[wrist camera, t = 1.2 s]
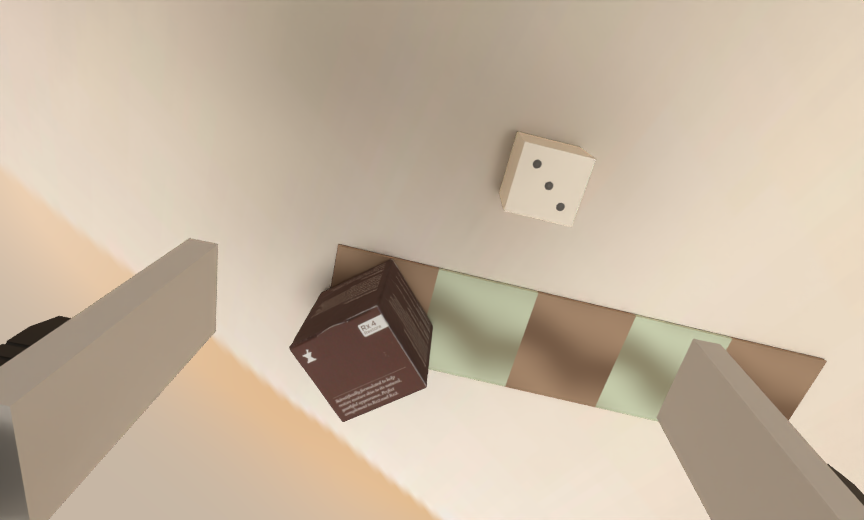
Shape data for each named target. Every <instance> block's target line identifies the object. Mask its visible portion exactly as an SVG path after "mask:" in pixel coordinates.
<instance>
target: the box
mask: <svg viewBox="0 0 864 520" xmlns="http://www.w3.org/2000/svg"><path fill="white" fill-rule="evenodd" d="M432 331H433V325H432V323H431V322H430V320H429V318H428V317H427V315H426V313H425V312H424V310H423V308H422V307H421V306H420V304H419V302H418V301H417V299H416V297H415V295H414V294H413V292H412V291H411V289H410V287H409V286H408V284H407V282H406V280H405V279H404V277H403V275H402V274H401V272H400V270H399V269H398V267H397V265H396V264H395V262H394V261H393V260H392V259H390V260H387V261H385V262H383V263H381V264H379V265H377V266H375V267H373V268H371V269H369V270H367V271H365V272H363V273H361V274H359V275H357V276H354V277H353V278H351V279H349V280H346V281H345V282H343V283H340V284H338V285H336V286H334V287H333V288H331V289H328V290H326V291H324V292H322V293H321V294H320V296H319V297H318V299H317V301H316V303H315V304H314V306H313V308H312V309H311V311H310V313H309V314H308V316H307V318H306V320H305V321H304V323H303V325H302V327H301V328H300V330H299V332H298V333H297V335H296V337H295V339H294V341H293V343H292V344H291V345H290V347H289V348H290V351H291V352H292V353H293V355H294V356H295V358H296V359H297V360H298V362H299V363H300V364H301V366H302V367H303V368H304V370H305V371H306V372H307V374H308V375H309V376H310V378H311V379H312V380H313V382H314V383H315V385H316V386H317V387H318V389H319V390H320V392H321V393H322V394H323V396H324V397H325V399H326V400H327V401H328V403H329V404H330V406H331V407H332V408H333V410H334V411H335V413H336V414H337V415H338V416H339V418H340V419H341V421H342V422H345V421H347V420H350V419H352V418H354V417H357V416H359V415H362V414H364V413H367V412H369V411H371V410H374V409H376V408H379V407H381V406H383V405H386V404H388V403H391V402H393V401H395V400H398V399H400V398H402V397H405V396H407V395H410V394H412V393H414V392H417V391H419V390H422V389H424V388H426V387H427V375H428V368H429V359H430V350H431V341H432Z"/></svg>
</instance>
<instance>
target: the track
mask: <svg viewBox="0 0 864 520" xmlns="http://www.w3.org/2000/svg"><path fill="white" fill-rule="evenodd" d="M390 259H392V260H393V261H394V262H395V264H396V265H397V267H398V269H399V270H400V272H401V274H402V275H403V277H404V279H405V280H406V282H407V284H408V286H409V287H410V289H411V291H412V292H413V294H414V295H415V297H416V299H417V301H418V302H419V304H420V306H421V307H422V308H423V310H424V312H425V313H426V315H427V317H428V318H429V320H430V322H431V323H432V325H433V331H432V341H431V350H430V359H429V368H428V369H430V370H434V371H439V372H443V373H448V374H452V375H456V376H461V377H465V378H470V379H474V380H478V381H483V382H487V383H491V384H496V385H500V386H505V387H509V388H513V389H518V390H522V391H527V392H531V393H535V394H540V395H544V396H548V397H553V398H557V399H562V400H566V401H570V402H575V403H579V404H584V405H588V406H592V407H597V408H601V409H605V410H610V411H614V412H619V413H623V414H627V415H632V416H636V417H641V418H645V419H649V420H654V421H658V419H657V418H656V417H657V415H658V413H659V411H660V409H661V407H662V404H663V402H664V400H665V398H666V396H667V394H668V392H669V389H670V387H671V385H672V383H673V381H674V379H675V377H676V374H677V372H678V370H679V368H680V366H681V364H682V362H683V359H684V357H685V355H686V353H687V351H688V349H689V347H690V344H691V342H692V340H693V339H697V340H702V341H707V342H712V343H717V344H721V345H722V347H723V348H724V349H725V350H726V351H727V352H728V353H729V355H730V356H731V357H732V358H733V359H734V360H735V361H736V362H737V364H738V365H739V366H740V367H741V368H742V369H743V370H744V371H745V373H746V374H747V375H748V376H749V377H750V378H751V379H752V380H753V382H754V383H755V384H756V385H757V386H758V387H759V388H760V389H761V391H762V392H763V393H764V394H765V395H766V396H767V397H768V398H769V400H770V401H771V402H772V403H773V404H774V405H775V406H776V407H777V409H778V410H779V411H780V412H781V413H782V414H783V415H784V416H785V418H786V419H787V420H789V419H790V417H791V416H792V414H793V413H794V411H795V410H796V408H797V407H798V405H799V403H800V402H801V400H802V399H803V397H804V396H805V394H806V393H807V391H808V390H809V388H810V387H811V385H812V383H813V382H814V380H815V379H816V377H817V376H818V374H819V373H820V371H821V370H822V368H823V366H824V365H825V363H826V362H827V361H826V360H824V359H822V358H817V357H813V356H809V355H805V354H801V353H796V352H792V351H788V350H784V349H779V348H775V347H771V346H767V345H763V344H758V343H754V342H750V341H746V340H741V339H737V338H733V337H729V336H725V335H720V334H716V333H712V332H708V331H703V330H699V329H695V328H691V327H686V326H682V325H678V324H674V323H670V322H665V321H661V320H657V319H653V318H648V317H644V316H640V315H636V314H632V313H627V312H623V311H619V310H615V309H610V308H606V307H602V306H598V305H594V304H589V303H585V302H581V301H577V300H572V299H568V298H564V297H560V296H556V295H551V294H547V293H543V292H539V291H534V290H530V289H526V288H522V287H518V286H513V285H509V284H505V283H501V282H496V281H492V280H488V279H484V278H480V277H475V276H471V275H467V274H463V273H458V272H454V271H450V270H446V269H442V268H437V267H433V266H429V265H425V264H420V263H416V262H412V261H408V260H404V259H399V258H395V257H391V256H387V255H382V254H378V253H374V252H370V251H366V250H361V249H357V248H353V247H349V246H344V245H340V244H339V245H338V248H337V254H336V260H335V266H334V272H333V277H332V283H331V288H333V287H334V286H336V285H338V284H340V283H343V282H345V281H346V280H349V279H351V278H353V277H354V276H357V275H359V274H361V273H363V272H365V271H367V270H369V269H371V268H373V267H375V266H377V265H379V264H381V263H383V262H385V261H387V260H390ZM658 422H659V421H658Z"/></svg>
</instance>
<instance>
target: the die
mask: <svg viewBox="0 0 864 520" xmlns="http://www.w3.org/2000/svg"><path fill="white" fill-rule="evenodd" d="M595 162H596V159H595V158H594V157H592V156H591V155H590V154H589V153H587V152H586V151H585V150H583V149H582V148H581V147H578V146H574V145H570V144H566V143H562V142H558V141H554V140H550V139H546V138H542V137H538V136H534V135H530V134H526V133H522V132H518V131H517V134H516V137H515V141H514V144H513V147H512V151H511V154H510V158H509V161H508V164H507V168H506V171H505V174H504V178H503V181H502V185H501V188H500V191H499V195H500V199H501V202H502V206H503V209H504V211H506V212H510V213H514V214H518V215H522V216H527V217H531V218H535V219H539V220H543V221H547V222H551V223H555V224H559V225H564V226H568V227H572V225H573V222H574V219H575V216H576V214H577V211H578V208H579V205H580V203H581V200H582V197H583V194H584V192H585V189H586V186H587V184H588V181H589V178H590V175H591V173H592V170H593V167H594V164H595Z"/></svg>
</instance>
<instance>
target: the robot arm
mask: <svg viewBox="0 0 864 520" xmlns="http://www.w3.org/2000/svg"><path fill="white" fill-rule="evenodd" d="M217 260H218V244H216V243H211V242H206V241H201V240H196V239H191V238H189V239H188V240H186V241H185V242H183V243H182V244H180V245H179V246H177V247H176V248H174V249H173V250H171V251H170V252H169V253H167V254H166V255H164V256H163V257H161V258H160V259H158V260H157V261H155V262H154V263H152V264H151V265H149V266H148V267H146V268H145V269H143V270H142V271H141V272H139V273H138V274H136V275H135V276H133V277H132V278H130V279H129V280H127V281H126V282H124V283H123V284H121V285H120V286H118V287H117V288H115V289H114V290H113V291H111V292H110V293H108V294H107V295H105V296H104V297H102V298H101V299H99V300H98V301H96V302H95V303H93V304H92V305H90V306H89V307H88V308H86V309H85V310H83V311H82V312H80V313H79V314H77V315H76V316H74V317H73V318H67V317H62V316H58V317H55V318H52V319H49V320H47V321H44V322H41V323H38V324H35V325H33V326H30V327H28V328H27V329H25V330H23V331H22V332H20V333H19V334H17V335H16V336H14V337H12V338H11V339H9V340H8V341H7V343H6V344H1V345H0V520H49V519H50V517H51V516H52V515H53V514H54V513H55V512H56V511H57V509H58V508H59V507H60V506H61V505H62V504H63V503H64V501H66V499H67V498H68V497H69V496H70V495H71V494H72V493H73V492H74V490H75V489H76V488H77V487H78V486H79V485H80V483H81V482H82V481H83V480H84V479H85V478H86V477H87V476H88V475H89V474H90V472H91V471H92V470H93V469H94V468H95V467H96V466H97V464H98V463H99V462H100V461H101V460H102V459H103V458H104V457H105V455H106V454H107V453H108V452H109V451H110V450H111V449H112V448H113V446H114V445H115V444H116V443H117V442H118V441H119V440H120V439H121V437H122V436H123V435H124V434H125V433H126V432H127V431H128V430H129V428H130V427H131V426H132V425H133V424H134V423H135V422H136V421H137V419H138V418H139V417H140V416H141V415H142V414H143V413H144V411H145V410H146V409H147V408H148V407H149V406H150V405H151V404H152V402H153V401H154V400H155V399H156V398H157V397H158V396H159V395H160V393H161V392H162V391H163V390H164V389H165V388H166V387H167V386H168V384H169V383H170V382H171V381H172V380H173V379H174V377H176V375H177V374H178V373H179V372H180V371H181V370H182V369H183V368H184V366H185V365H186V364H187V363H188V362H189V361H190V360H191V358H192V357H193V356H194V355H195V354H196V353H197V352H198V351H199V349H200V348H201V347H202V346H203V345H204V344H205V343H206V342H207V340H208V339H209V338H210V337H211V336H212V335H213V334H214V333H215V331H216V299H217ZM656 418H657V419H658V421H659V423H660V425H661V427H662V429H663V431H664V433H665V434H666V436H667V438H668V440H669V442H670V444H671V446H672V448H673V449H674V451H675V453H676V455H677V457H678V459H679V461H680V463H681V464H682V466H683V468H684V470H685V472H686V474H687V476H688V478H689V479H690V481H691V483H692V485H693V487H694V489H695V491H696V492H697V494H698V496H699V498H700V500H701V502H702V504H703V506H704V507H705V509H706V511H707V513H708V515H709V517H710V519H711V520H864V495H863V493H862V492H861V491H860V490H859V489H858V488H857V487H856V486H855V485H854V484H853V483H852V482H850V481H849V480H848V479H847V478H845V477H844V476H843V475H842V474H840V473H839V472H838V471H836V470H835V469H834V468H833V467H831V466H830V465H829V464H826V463H825V462H824V460H823V459H822V458H821V457H820V456H819V455H818V454H817V453H816V451H815V450H814V449H813V448H812V447H811V446H810V445H809V444H808V442H807V441H806V440H805V439H804V438H803V437H802V436H801V434H800V433H799V432H798V431H797V430H796V429H795V428H794V427H793V425H792V424H791V423H790V422H789V421H788V420H787V419H786V418H785V416H784V415H783V414H782V413H781V412H780V411H779V410H778V409H777V407H776V406H775V405H774V404H773V403H772V402H771V401H770V400H769V398H768V397H767V396H766V395H765V394H764V393H763V392H762V391H761V389H760V388H759V387H758V386H757V385H756V384H755V383H754V382H753V380H752V379H751V378H750V377H749V376H748V375H747V374H746V373H745V371H744V370H743V369H742V368H741V367H740V366H739V365H738V364H737V362H736V361H735V360H734V359H733V358H732V357H731V356H730V355H729V353H728V352H727V351H726V350H725V349H724V348H723V347H722V345H721V344H717V343H712V342H707V341H702V340H697V339H693V340H692V342H691V344H690V347H689V349H688V351H687V353H686V355H685V357H684V359H683V362H682V364H681V366H680V368H679V370H678V372H677V374H676V377H675V379H674V381H673V383H672V385H671V387H670V389H669V392H668V394H667V396H666V398H665V400H664V402H663V404H662V407H661V409H660V411H659V413H658V415H657V417H656Z"/></svg>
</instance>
